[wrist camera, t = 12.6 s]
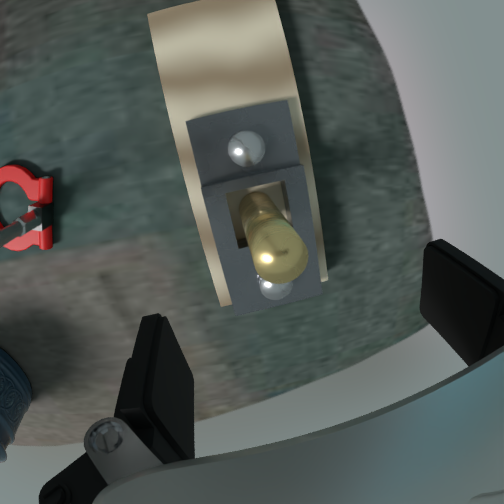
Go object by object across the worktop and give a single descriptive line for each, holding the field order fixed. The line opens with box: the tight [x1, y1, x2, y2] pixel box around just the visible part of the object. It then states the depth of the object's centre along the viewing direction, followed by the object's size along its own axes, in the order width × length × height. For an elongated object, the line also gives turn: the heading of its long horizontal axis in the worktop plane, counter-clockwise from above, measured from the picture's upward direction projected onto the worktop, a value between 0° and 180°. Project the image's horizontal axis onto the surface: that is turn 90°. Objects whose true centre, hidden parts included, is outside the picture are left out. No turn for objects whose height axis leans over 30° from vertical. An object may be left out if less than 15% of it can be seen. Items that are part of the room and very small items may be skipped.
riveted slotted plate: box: [185, 100, 322, 316], centre depth 24 cm, size 16×8×3 cm, turn 12°
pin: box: [239, 191, 308, 284], centre depth 20 cm, size 3×3×10 cm
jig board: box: [147, 0, 328, 307], centre depth 24 cm, size 26×10×2 cm, turn 12°
